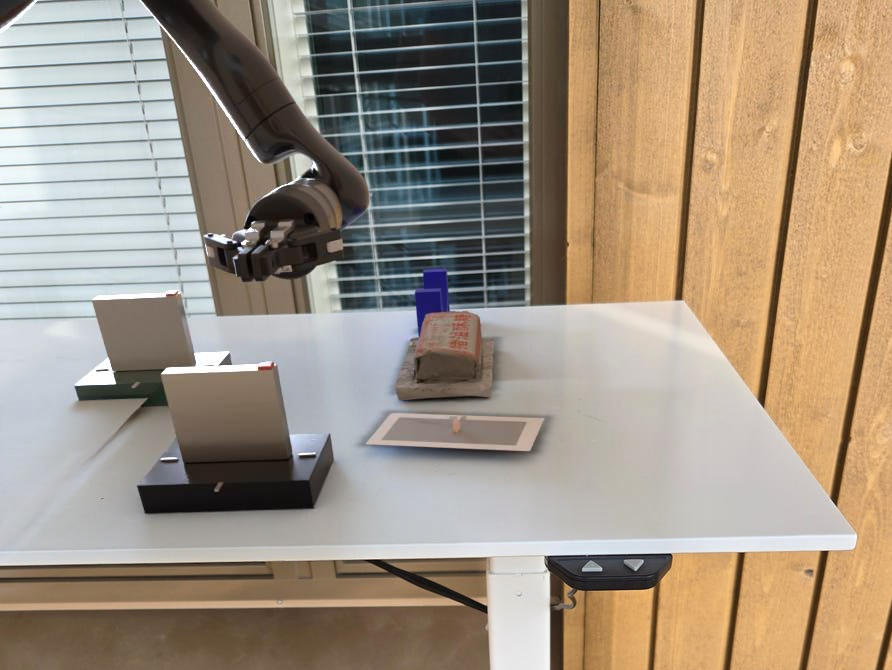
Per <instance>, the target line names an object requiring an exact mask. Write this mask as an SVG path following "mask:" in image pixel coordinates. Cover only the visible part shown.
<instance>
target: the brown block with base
mask: <svg viewBox="0 0 892 670" xmlns="http://www.w3.org/2000/svg"><path fill="white" fill-rule="evenodd" d="M494 342H495V339H494V337H487V338H486V337H485V338H483V333H482V323H481V318H480V316H479V315H478V314H475V313H473V312H470V311H468V310H462V311H456V312H439V313H430V314H426V317H425V319H424V321H423V323H422V327H421V333H420V336H417V337H413V338H410V341H409V345H408V347H407V351H406V353H405V357H404V359H403V363H402V366H401V369H400V372H399V374H398V378H397V380H396V384H395V386H394V388H395V393H396V397H397V400H398V401H407V400H418V399H419V400H421V399H422V400H423V399H435V398H436V399H439V398H463V397H464V398H465V397H480V398H481V397H482V398H491V395H492V387H493V378H494V377H493V368H494V352H495V347H494Z"/></svg>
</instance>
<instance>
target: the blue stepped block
mask: <svg viewBox="0 0 892 670" xmlns="http://www.w3.org/2000/svg"><path fill="white" fill-rule="evenodd" d="M422 279H423V288H418V289H417V288H416V289H415V291H414V299H415V310H416V322H417V323H416V324H417V334H418V335H417V337H419V336H420V333H421V327H422V323H423V321H424V319H425V317H426V314H430V313H439V312H456V311H455V310H452V311H451V309H450V293H449V292H450V291H449V280H448V279H449V277H448V268H431V269H423V271H422Z"/></svg>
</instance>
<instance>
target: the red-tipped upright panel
mask: <svg viewBox="0 0 892 670" xmlns="http://www.w3.org/2000/svg"><path fill="white" fill-rule="evenodd" d="M161 378H162V382H163V386H164V390H165V394H166V398H167V401H168V405H167V406H168V410H169V413H170V418H171V420H172V424H173V428H174V432H175V437H176V438H177V441H178V445H179V449H180V453H181V457H182V460H183V463H189V462H219V461H249V460H279V459H289V457H290V456H291V454H292V446H291V440H290V435H289V434H290V430H289V423H288V418H287V413H286V408H285V407H286V406H285V402H284V396H283V391H282V390H283V389H282V385H281V379H280V373H279V367H278V364H277V363H275V361H273V360H272V361H268V360H267V361H261V362H259V364H236V365H234V364H232V365H231V366H205V367H179V368H166V369H165V370H164V371H163V372H162V373H161Z"/></svg>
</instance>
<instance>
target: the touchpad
mask: <svg viewBox="0 0 892 670" xmlns="http://www.w3.org/2000/svg"><path fill="white" fill-rule="evenodd" d="M544 421H545V417H522V416H521V417H518V416H493V415H491V416H489V415H461V414H435V413H434V414H433V413H432V414H431V413H407V412H406V413H405V412H403V413H402V412H390V414H389V415H388V417H386V418H385V420H384V421H383V423H381V425H380V426H378V428H377V429H376V431H374V433H373V434H372V435H371V436H370V438H369V439H368V440H367V442H366V443H365V445H371V446H372V445H373V446H393V447H394V446H395V447H396V446H397V447H398V446H399V447H416V448H417V447H419V448H443V449H466V450H467V449H469V450H490V451H512V452H513V451H515V452H517V451H518V452H531V449H532V448H533V445H534V444H535V441H536V439H537V437H538V434H539V432H540V430H541V428H542V425H543V423H544Z"/></svg>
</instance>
